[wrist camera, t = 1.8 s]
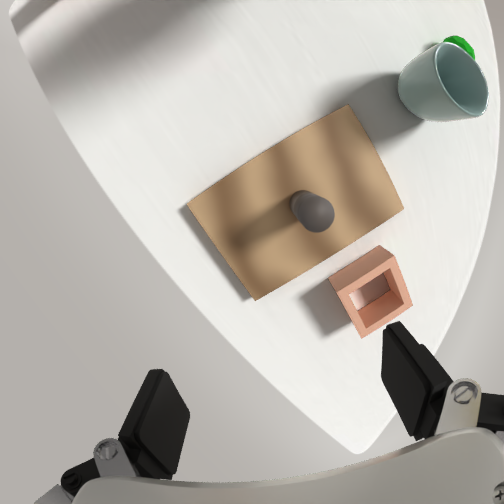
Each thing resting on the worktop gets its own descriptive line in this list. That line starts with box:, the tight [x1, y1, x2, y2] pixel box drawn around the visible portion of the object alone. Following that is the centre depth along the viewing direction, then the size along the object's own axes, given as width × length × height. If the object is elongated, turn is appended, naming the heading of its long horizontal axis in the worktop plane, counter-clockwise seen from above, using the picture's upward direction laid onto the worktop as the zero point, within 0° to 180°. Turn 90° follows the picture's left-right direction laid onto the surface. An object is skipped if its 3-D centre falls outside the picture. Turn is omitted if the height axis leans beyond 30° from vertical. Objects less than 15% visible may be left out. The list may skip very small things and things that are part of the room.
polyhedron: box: [443, 36, 475, 60], centre depth 19 cm, size 5×5×5 cm
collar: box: [328, 245, 413, 339], centre depth 29 cm, size 7×7×4 cm
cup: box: [398, 42, 489, 122], centre depth 19 cm, size 8×8×10 cm
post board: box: [187, 104, 404, 301], centre depth 24 cm, size 20×13×8 cm, turn 123°
